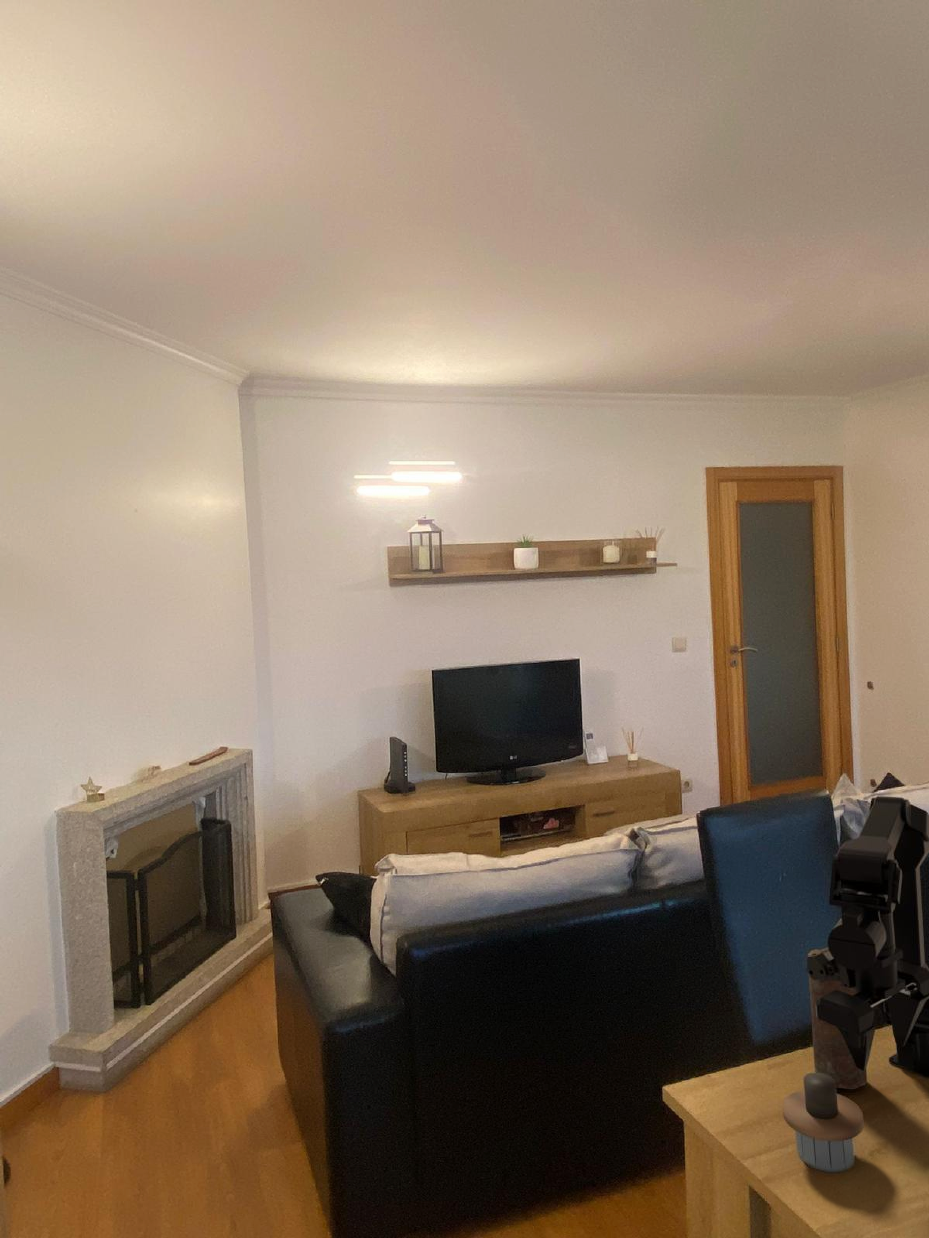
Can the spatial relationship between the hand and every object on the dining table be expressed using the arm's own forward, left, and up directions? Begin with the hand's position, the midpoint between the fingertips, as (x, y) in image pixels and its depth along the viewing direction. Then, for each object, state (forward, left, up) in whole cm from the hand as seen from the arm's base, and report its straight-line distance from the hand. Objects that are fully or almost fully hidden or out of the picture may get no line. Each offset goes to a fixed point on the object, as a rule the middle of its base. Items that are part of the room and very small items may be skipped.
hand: (880, 1056), depth 114 cm
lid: (+8, -4, -7) cm, 11 cm away
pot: (+8, -4, -12) cm, 15 cm away
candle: (-8, -12, -12) cm, 19 cm away
